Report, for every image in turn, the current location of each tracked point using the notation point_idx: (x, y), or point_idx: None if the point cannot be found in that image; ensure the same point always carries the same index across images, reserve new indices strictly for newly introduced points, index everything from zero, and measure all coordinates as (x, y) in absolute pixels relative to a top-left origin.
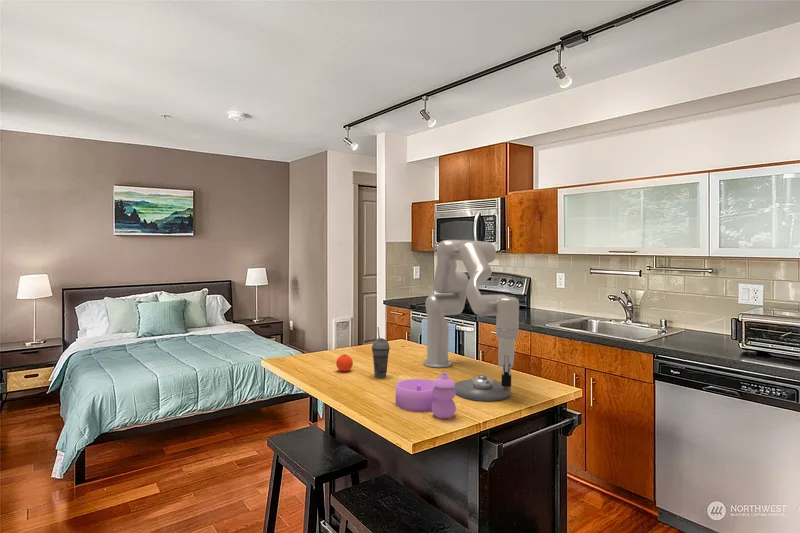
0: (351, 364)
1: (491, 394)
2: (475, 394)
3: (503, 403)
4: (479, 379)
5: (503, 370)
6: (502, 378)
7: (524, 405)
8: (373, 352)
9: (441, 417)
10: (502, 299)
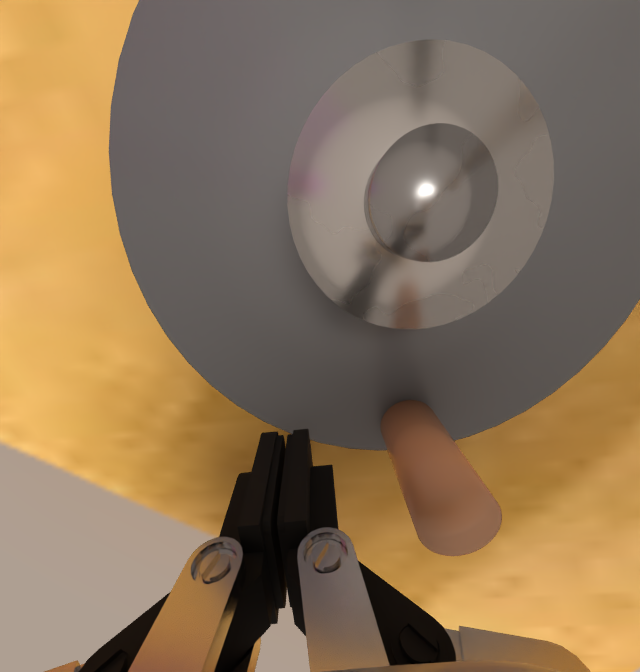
0: None
1: (184, 328)
2: (112, 181)
3: (186, 399)
4: (373, 161)
5: (88, 666)
6: (248, 494)
7: (207, 512)
8: None
9: None
10: None
